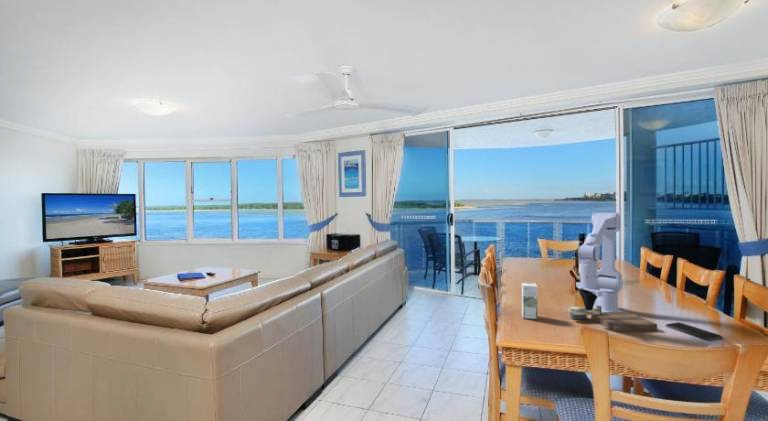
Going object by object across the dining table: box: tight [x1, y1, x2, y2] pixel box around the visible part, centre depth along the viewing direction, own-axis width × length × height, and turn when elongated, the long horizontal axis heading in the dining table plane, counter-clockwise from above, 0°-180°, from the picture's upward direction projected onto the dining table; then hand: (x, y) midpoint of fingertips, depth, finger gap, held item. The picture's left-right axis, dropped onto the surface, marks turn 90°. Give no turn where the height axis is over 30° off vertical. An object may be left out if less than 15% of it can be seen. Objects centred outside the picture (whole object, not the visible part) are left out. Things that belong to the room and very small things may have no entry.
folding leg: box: [566, 306, 602, 316], centre depth 147 cm, size 13×2×3 cm, turn 90°
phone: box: [665, 322, 723, 342], centre depth 133 cm, size 8×1×15 cm
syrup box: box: [521, 282, 539, 321], centre depth 152 cm, size 6×6×14 cm
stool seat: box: [590, 311, 658, 333], centre depth 142 cm, size 15×16×2 cm
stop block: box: [569, 314, 588, 320], centre depth 150 cm, size 2×6×4 cm, turn 91°
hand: (588, 309), depth 141 cm, fingers closed
